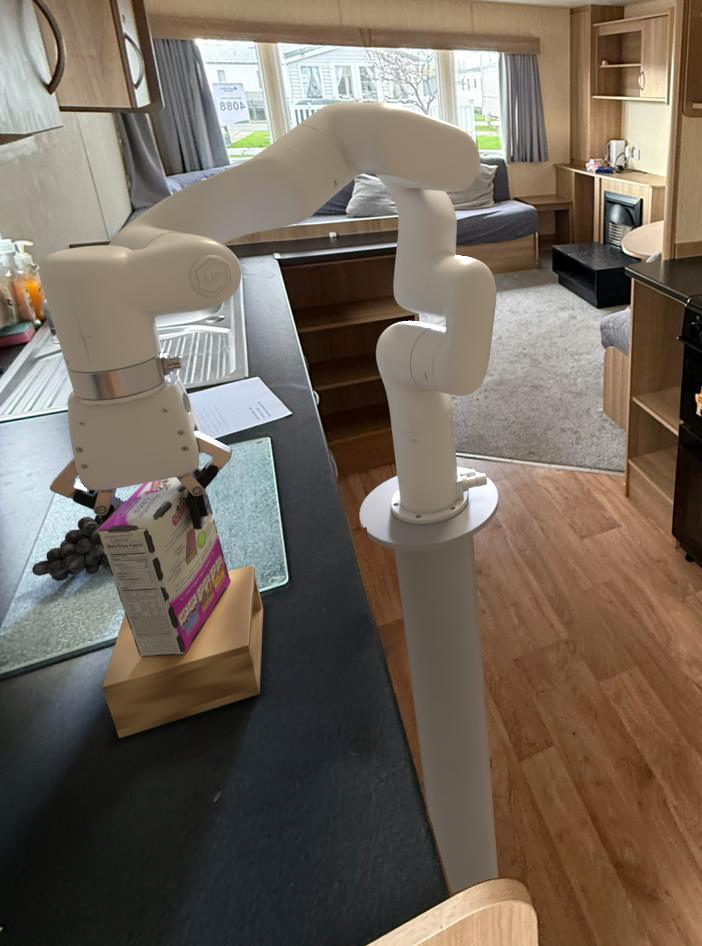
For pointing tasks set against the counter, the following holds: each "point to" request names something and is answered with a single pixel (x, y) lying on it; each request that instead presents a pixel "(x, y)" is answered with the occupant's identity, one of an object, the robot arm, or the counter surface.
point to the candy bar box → (164, 567)
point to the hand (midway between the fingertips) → (162, 529)
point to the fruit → (75, 552)
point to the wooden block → (190, 664)
